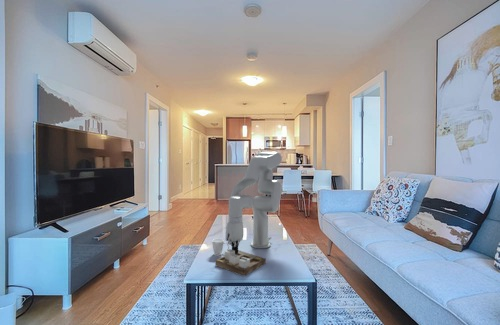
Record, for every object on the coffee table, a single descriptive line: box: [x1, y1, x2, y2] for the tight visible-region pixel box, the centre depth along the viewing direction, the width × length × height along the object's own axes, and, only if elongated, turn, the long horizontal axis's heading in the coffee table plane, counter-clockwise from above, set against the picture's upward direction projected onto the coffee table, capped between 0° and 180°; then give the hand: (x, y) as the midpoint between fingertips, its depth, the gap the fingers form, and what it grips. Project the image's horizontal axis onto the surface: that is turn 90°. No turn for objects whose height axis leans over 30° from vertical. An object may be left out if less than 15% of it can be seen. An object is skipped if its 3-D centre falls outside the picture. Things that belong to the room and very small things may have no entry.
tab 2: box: [239, 257, 250, 269], centre depth 121 cm, size 4×4×5 cm
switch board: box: [215, 249, 267, 277], centre depth 129 cm, size 18×19×3 cm
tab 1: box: [224, 248, 235, 260], centre depth 132 cm, size 4×4×5 cm
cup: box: [211, 238, 230, 257], centre depth 143 cm, size 7×10×8 cm
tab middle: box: [229, 254, 240, 265], centre depth 125 cm, size 4×4×5 cm
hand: (234, 253), depth 135 cm, fingers closed
